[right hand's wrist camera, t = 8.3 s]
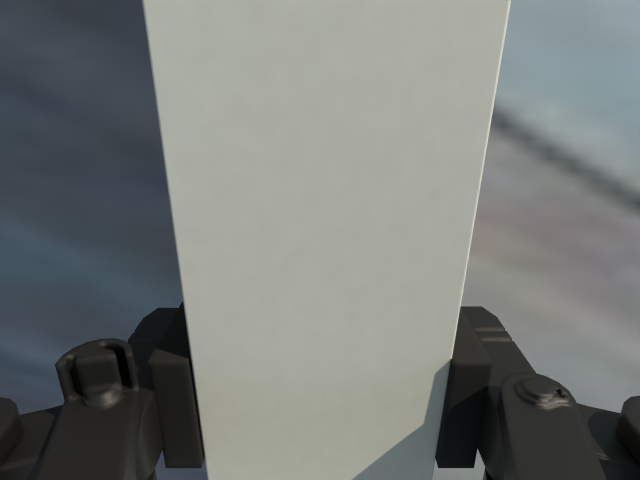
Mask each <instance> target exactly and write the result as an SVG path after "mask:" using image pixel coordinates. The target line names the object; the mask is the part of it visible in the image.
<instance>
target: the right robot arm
mask: <svg viewBox="0 0 640 480" xmlns="http://www.w3.org/2000/svg"><path fill="white" fill-rule="evenodd" d="M55 366H56V370H57V374H58V377H59V381H60V385H61V388H62V392H63V396H64V399H65V402H64V404H63V405H61V406H58V407H54V408H50V409H46V410H41V411H36V412H32V413H27V414H23V415H20V414H19V411H18V408H17V405H16V404H15V403H14V402H13V401H11V400H10V399H6V398H0V480H157V477H156V471H155V466H156V464H157V461H158V459H159V456H160V454H161V452H162V449H163V455H164V460H165V466H166V468H202V464H203V461H204V449H203V442H202V435H201V427H200V420H199V413H198V406H197V398H196V391H195V384H194V376H193V369H192V362H191V354H190V347H189V340H188V332H187V325H186V318H185V311H184V303H183V302H182V303H181V305H180V307H179V308H157V309H156V310H155V311H153V312H152V313H150V314H149V315H147V316H146V317H144V318H143V319H142V321H141V322H140V324H139V325H138V327H137V328H136V330H135V333H133V334H132V335H131V337H130V338H129V340H128V343H127V342H126V341H123V340H119V339H99V340H95V341H91V342H87V343H84V344H82V345H80V346H77V347H75V348H73V349H71V350H70V351H69V352H67V353H66V354H64V355H63V356H62V357H61V358H60V359H59V360H58V362H57V363H56V364H55ZM477 448H478V450H479V453H480V455H481V457H482V460H483V462H484V465H485V471H484V477H483V480H640V396H635V397H630V398H629V399H628V400H626V401H625V402H624V404H623V407H622V410H621V413H616V412H612V411H607V410H603V409H598V408H593V407H589V406H585V405H582V404H578V403H576V401H575V399H574V398H573V396H572V395H571V393H570V392H569V390H567V389H566V388H565V387H563V386H562V385H561V384H560V383H558V382H556V381H554V380H552V379H550V378H548V377H546V376H543V375H540V374H536V372H535V371H534V370H533V368H532V367H531V365H530V364H529V362H528V361H527V360H526V358H525V357H524V355H523V354H522V352H521V351H520V350H519V348H518V347H517V345H516V344H515V342H514V341H512V338H511V337H510V335H509V334H508V332H507V331H505V328H504V327H503V325H502V324H501V322H500V321H499V320H498V318H497V317H496V316H495V315H493V314H492V313H490V312H489V311H487V310H486V309H484V308H483V307H460V312H459V318H458V324H457V330H456V336H455V342H454V348H453V354H452V359H451V362H450V368H449V375H448V381H447V388H446V394H445V401H444V407H443V414H442V420H441V427H440V433H439V439H438V445H437V451H436V457H435V458H436V462H437V465H438V468H474V464H475V459H476V453H477Z"/></svg>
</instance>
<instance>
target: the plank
mask: <svg viewBox="0 0 640 480" xmlns="http://www.w3.org/2000/svg"><path fill="white" fill-rule="evenodd" d="M510 2H511V0H142V4H143V11H144V18H145V25H146V33H147V40H148V47H149V55H150V62H151V69H152V77H153V84H154V91H155V99H156V106H157V113H158V120H159V128H160V135H161V142H162V150H163V157H164V164H165V172H166V179H167V186H168V194H169V201H170V208H171V215H172V223H173V230H174V237H175V245H176V252H177V259H178V267H179V274H180V281H181V289H182V296H183V303H184V311H185V318H186V325H187V332H188V340H189V347H190V354H191V362H192V369H193V376H194V384H195V391H196V398H197V406H198V413H199V420H200V427H201V435H202V442H203V449H204V457H205V464H206V471H207V479H208V480H432V476H433V470H434V463H435V457H436V451H437V445H438V439H439V433H440V427H441V420H442V414H443V407H444V401H445V394H446V388H447V381H448V375H449V368H450V362H451V359H452V354H453V348H454V342H455V336H456V330H457V324H458V318H459V312H460V306H461V300H462V294H463V288H464V282H465V275H466V269H467V263H468V257H469V251H470V245H471V239H472V233H473V227H474V221H475V215H476V209H477V203H478V197H479V191H480V184H481V178H482V172H483V166H484V160H485V154H486V148H487V142H488V136H489V130H490V124H491V118H492V112H493V106H494V100H495V93H496V87H497V81H498V75H499V69H500V63H501V57H502V51H503V45H504V39H505V33H506V27H507V21H508V15H509V9H510Z"/></svg>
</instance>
